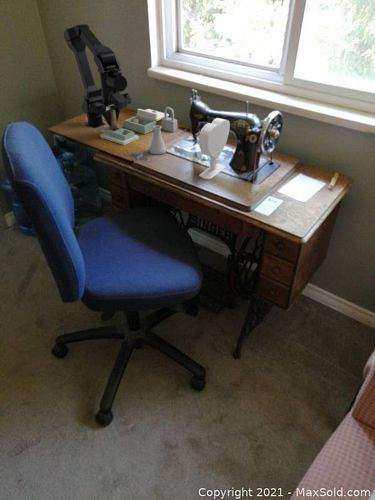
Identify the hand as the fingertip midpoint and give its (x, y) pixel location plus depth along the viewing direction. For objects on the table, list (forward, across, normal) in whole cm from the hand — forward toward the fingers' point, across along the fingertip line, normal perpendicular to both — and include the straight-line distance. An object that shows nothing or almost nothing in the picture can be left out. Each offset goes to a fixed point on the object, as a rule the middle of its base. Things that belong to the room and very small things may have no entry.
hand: (112, 124), depth 159 cm
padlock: (+5, +20, -14) cm, 26 cm away
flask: (+5, 0, -25) cm, 26 cm away
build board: (+5, 0, -3) cm, 6 cm away
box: (+5, +14, -3) cm, 15 cm away
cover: (+1, +22, -3) cm, 22 cm away
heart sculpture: (+5, -2, -52) cm, 53 cm away
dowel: (+2, 0, 0) cm, 2 cm away
